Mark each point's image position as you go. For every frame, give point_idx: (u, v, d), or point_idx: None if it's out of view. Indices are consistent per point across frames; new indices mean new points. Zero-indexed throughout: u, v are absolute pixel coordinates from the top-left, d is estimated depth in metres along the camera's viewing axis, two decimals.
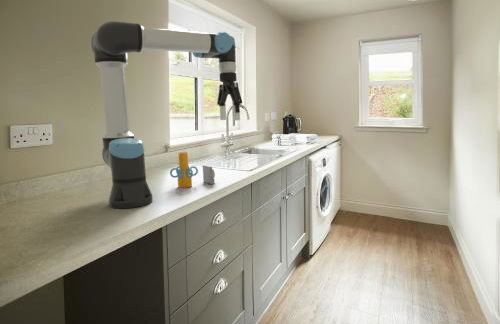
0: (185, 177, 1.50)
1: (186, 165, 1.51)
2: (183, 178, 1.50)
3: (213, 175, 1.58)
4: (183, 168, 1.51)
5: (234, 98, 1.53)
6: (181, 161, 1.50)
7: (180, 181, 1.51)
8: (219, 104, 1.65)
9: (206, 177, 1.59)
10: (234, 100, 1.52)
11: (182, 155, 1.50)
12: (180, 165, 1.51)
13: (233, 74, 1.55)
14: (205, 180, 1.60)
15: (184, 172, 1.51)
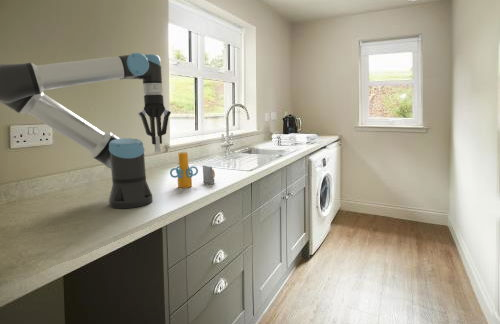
0: (185, 177, 1.50)
1: (186, 165, 1.51)
2: (183, 178, 1.50)
3: (213, 175, 1.58)
4: (183, 168, 1.51)
5: None
6: (181, 161, 1.50)
7: (180, 181, 1.51)
8: None
9: (206, 177, 1.59)
10: None
11: (182, 155, 1.50)
12: (180, 165, 1.51)
13: (145, 97, 1.40)
14: (205, 180, 1.60)
15: (184, 172, 1.51)
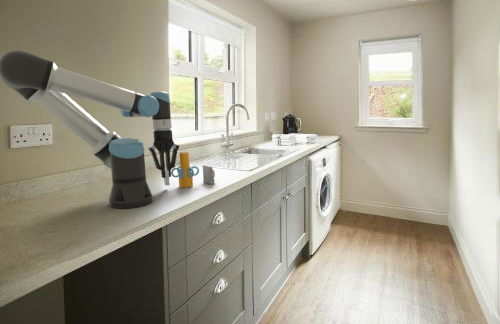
0: (186, 177, 1.51)
1: (187, 165, 1.51)
2: (184, 178, 1.51)
3: (213, 175, 1.58)
4: (184, 168, 1.51)
5: (160, 162, 1.48)
6: (182, 161, 1.50)
7: (181, 181, 1.51)
8: None
9: (206, 177, 1.59)
10: (160, 165, 1.48)
11: (183, 154, 1.50)
12: (181, 165, 1.51)
13: (154, 133, 1.43)
14: (205, 180, 1.60)
15: (185, 172, 1.51)
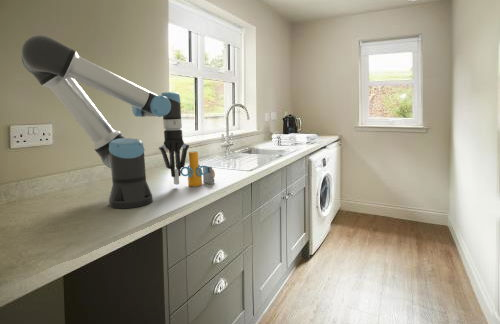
0: (194, 176, 1.52)
1: (196, 164, 1.53)
2: (193, 177, 1.52)
3: (213, 175, 1.58)
4: (193, 167, 1.53)
5: (170, 162, 1.50)
6: (191, 160, 1.52)
7: (190, 180, 1.53)
8: None
9: (206, 177, 1.59)
10: (170, 164, 1.50)
11: (192, 154, 1.52)
12: (190, 164, 1.53)
13: (165, 132, 1.46)
14: (205, 180, 1.60)
15: (194, 171, 1.53)
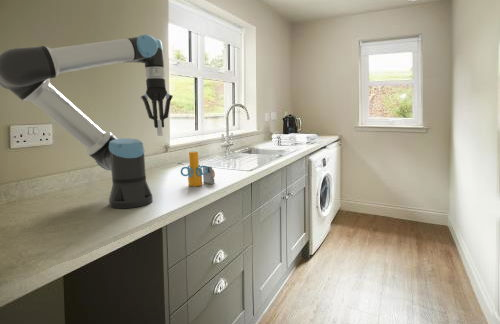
0: (195, 176, 1.52)
1: (196, 164, 1.53)
2: (193, 177, 1.52)
3: (213, 175, 1.58)
4: (193, 167, 1.53)
5: (153, 112, 1.46)
6: (191, 160, 1.52)
7: (190, 180, 1.53)
8: None
9: (206, 177, 1.59)
10: (153, 115, 1.47)
11: (192, 154, 1.52)
12: (190, 164, 1.53)
13: (147, 81, 1.42)
14: (205, 180, 1.60)
15: (194, 171, 1.53)
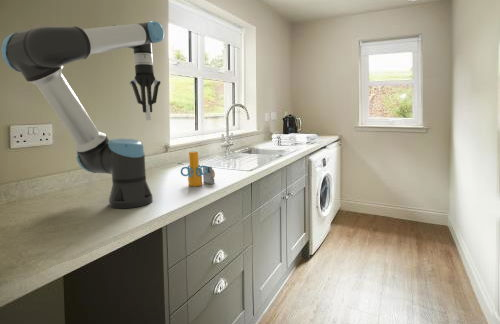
0: (195, 176, 1.52)
1: (196, 164, 1.53)
2: (193, 177, 1.52)
3: (213, 175, 1.58)
4: (193, 167, 1.53)
5: (141, 97, 1.51)
6: (191, 160, 1.52)
7: (190, 180, 1.53)
8: None
9: (206, 177, 1.59)
10: None
11: (192, 154, 1.52)
12: (190, 164, 1.53)
13: (136, 66, 1.47)
14: (205, 180, 1.60)
15: (194, 171, 1.53)
